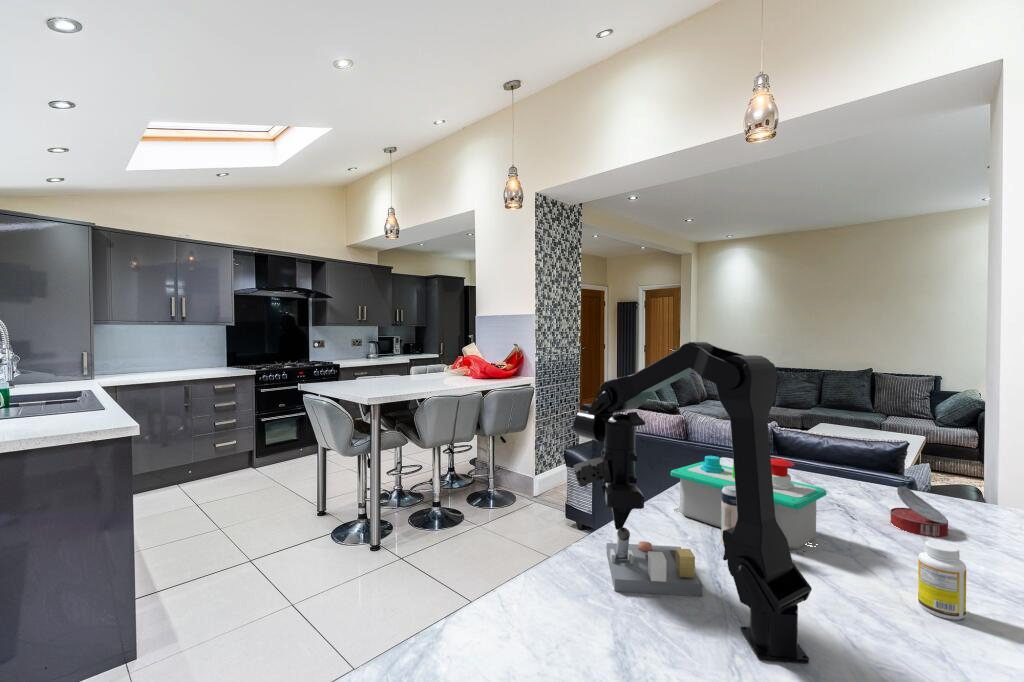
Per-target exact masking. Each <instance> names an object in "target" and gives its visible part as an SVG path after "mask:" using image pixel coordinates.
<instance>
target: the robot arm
mask: <svg viewBox="0 0 1024 682" xmlns="http://www.w3.org/2000/svg"><path fill="white" fill-rule="evenodd" d="M694 372H695V373H696V374H697V375H699V376H700V377H701V378H703V379H704V380H706V381H709V382H711V383H712V384H715V388H716V393H717V398H718V400H719V402H720V404H721V406H722V407H723V409H724V411H725V412H726V413H727V415H728V417H729V422H730V433H731V434H730V435H731V447H732V459H733V461H732V462H733V465H734V477H735V490H736V504H737V522H736V524H735V527H732V528H729V529H726V530H724V531H723V536H722V537H723V542H724V545H723V547H724V554H723V557H722V560H723V561H727V568H728V571H729V574H730V575H731V577H733V581H734V585H735V588H736V591H737V595H738V597H739V602H740V603H741V604H743V605H745V606H747V607H748V608H750V609H749V613H750V614H749V626H741V627H740V632H741V635H742V636H743V637H744V638H745V640H746V642H747V644H748V645H749V647H750V648H751V650H752V652H753V653H754V655H755V657H756V658H757V659H759V660H762V661H763V660H765V661H777V662H779V661H780V662H791V663H792V662H793V663H806V664H808V663H809V662H810V657H809V656H808V655H807V653H806V651H805V650H803V648H802V646H801V645H800V644H799V643H798V635H799V634H798V633H799V632H798V629H799V628H798V627H799V625H798V624H799V623H798V622H799V607H798V604H799V603H802V602H805V601H807V600H808V599H809V597H810V594H811V592H812V591H813V590H812V589H813V587H812V586H811V585H810V584H809V582H808V581H807V580H806V577H804V575H803V574H802V572H801V571H800V570H799V568H797V565H795V564H794V562H793V558H792V554H791V550H790V549H789V545H788V541H787V538H786V537H785V535H784V533H783V532H782V530H781V528H780V527H779V525H778V523H777V521H776V518H775V507H774V494H773V482H772V469H771V459H772V458H771V447H770V433H769V432H770V431H769V421H768V420H769V414H770V412H771V410H772V407H773V405H774V401H775V399H776V395H777V387H778V386H777V385H778V384H777V383H778V370H777V366H775V364H774V363H773V362H771V361H770V360H769V359H768V358H767V357H765V356H762V355H757V354H756V355H755V354H754V355H752V354H751V355H748V354H747V355H745V354H742V353H739V352H735V351H731V350H728V349H724V348H722V347H718V346H715V345H713V344H711V343H709V342H706V341H688V342H685V343H684V344H682V345H681V346H680V347H679V348H678V349H675V350H674V351H672V352H671V353H669V354H667V355H666V356H664V357H662V358H660V359H658V360H657V361H655V362H653V363H651V364H649V365H647V366H646V367H643V368H642V369H640V370H637V372H634V373H632V374H630V375H625V376H619V377H615V378H612V379H608V380H606V381H603V382H602V383H601V385H600V386H599V391H598V393H597V395H596V397H595V399H594V400H593V402H592V403H582V404H581V405H580V407H581V408H580V410H579V411H578V412H577V414H575V417H574V420H573V422H572V423H573V427H572V428H573V430H574V432H575V433H576V435H578V436H579V437H582V438H585V439H589V440H593V441H596V442H601V443H602V442H603V445H604V446H603V448H602V450H601V453H600V454H601V455H600V456H598V457H595V458H590V459H588V460H585V461H581V462H578V463H576V464H573V467H572V468H573V471H574V472H573V473H574V475H575V479H576V481H577V483H578V485H579V488H580V487H587V486H588V485H590V484H592V483H595V482H598V481H602V483H603V484H605V485H602V486H601V491H602V493H603V494H602V495H603V499H604V500H605V503H606V507H608V508H611V512H612V517H613V523H614V529H615V530H617V531H618V530H619V529H620V528H622V527H624V525H625V524H626V521H627V520H628V519H629V518H628V517H629V515H630V514H631V512H632V509H634V510H638V509H639V510H642V509H645V496H644V494H643V492H642V490H641V489H639V488H638V486H637V483H638V482H637V480H638V478H637V475H636V462H638V455H637V453H636V431H637V430H636V427H642V426H645V425H646V421H645V420H644V419H643V418H642V417H641V416H639V414H638V412H637V411H632V410H636V409H638V408H639V407H641V406H642V405H643V404H644V403H645V402H647V401H648V399H649V397H650V396H651V395H652V394H653V393H654V392H656V391H658V390H660V389H662V388H664V387H666V386H668V385H670V384H672V383H674V382H676V381H678V380H680V379H682V378H684V377H686V376H689V375H690V374H692V373H694ZM627 411H631V412H627ZM625 412H627V413H626V414H625ZM632 484H633V485H632ZM635 484H636V485H635Z"/></svg>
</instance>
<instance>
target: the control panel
mask: <svg viewBox="0 0 1024 682" xmlns="http://www.w3.org/2000/svg"><path fill="white" fill-rule="evenodd" d="M795 465H796V464H795V463H793V462H791V461H789V460H787V459H784V458H780V457H778V458H777V457H773V458H771V469H772V482H773V494H774V507H775V518H776V521H777V523H778V525H779V527H780V528H781V530H782V532H783V533H784V535H785V537H786V538H787V541H788V545H789V549H790V551H792V552H796V553H798V552H799V554H801V553H802V555H804V554H809V555H810V554H811V552H812V551H813V552H814V551H816V550H817V549H819V548H820V547H822V546H823V545H825V544H826V543H825V542H826V541H825V540H822V539H818V538H816V537H817V501H818V500H819V499H821V498H823V497H825V496H827V494H828V493H827V490H826V489H825V488H824V487H819V486H814V485H812V484H806V483H802V482H798V481H792V480H791V479H792V476H791V475H790V473H788V471H789V470H788V468H789V467H793V466H795ZM670 476H671V477H674V478H676V479H677V478H678V479H679V480H680V481H679V482H680V483H679V484H680V485H679V507H677V508H674V509H673V510H674V511H673V512H675V511H676V512H675V513H678V512H680V513H682V514H681V515H683V516H684V517H687V518H690V519H693V520H695V521H699V522H703V523H706V524H708V525H711V526H714V527H717V528H720V529H721V505H722V489H723V487H724V486H725V485H735V477H734V464H732V467H730V466H727V465H726V466H725V465H722V464H721V458H720V457H719V456H714V455H706V456H704V461H700V462H696V463H693V464H690V465H685V466H682V467H679V468H675V469H672V470H671V471H670ZM678 510H679V511H678ZM680 513H679V514H680ZM820 541H821V542H820ZM808 542H809V543H812V544H809V543H808ZM806 543H807V545H812V546H813V547H810V546H807V545H805V544H806ZM824 543H825V544H824ZM816 544H818V545H816ZM822 544H823V545H822ZM821 545H822V546H821ZM814 546H816V547H814ZM819 546H820V547H819ZM818 547H819V548H818ZM815 549H816V550H815ZM802 551H805V552H802ZM806 552H807V553H806ZM813 552H812V553H813Z"/></svg>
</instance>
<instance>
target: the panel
mask: <svg viewBox="0 0 1024 682" xmlns="http://www.w3.org/2000/svg"><path fill="white" fill-rule="evenodd" d="M676 548H679V549H682V547H681V546H674V545H657V544H652V543H651V542H649V541H645V540H643V541H639V542H638V544H637V543H636V544H634V543H629V546H628V560H624V559H616V552H617V542H606V556H607V561H608V566H609V567H608V568H609V570H610V571H609V572H610V577H611V580H612V585H613V590H614V592H623V593H624V592H625V593H639V592H641V593H643V594H657V595H658V594H659V595H675V596H688V595H694V596H693V597H703V584H702V582H701V580H700V578H699V576H698V575H697V573H696V572H695V578H685V577H679V575H678V573H677V571H676V569H675V567H676ZM648 551H650V552H663V554H664V556H665V558H666V582H662V581H651V579H650V576H649V574H648ZM695 595H696V596H695Z"/></svg>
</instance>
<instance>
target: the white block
mask: <svg viewBox="0 0 1024 682" xmlns="http://www.w3.org/2000/svg"><path fill="white" fill-rule="evenodd" d="M648 574H649V576H650V579H651V581H662V582H666V558H665V556H664V554H663V552H650V551H648Z"/></svg>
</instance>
